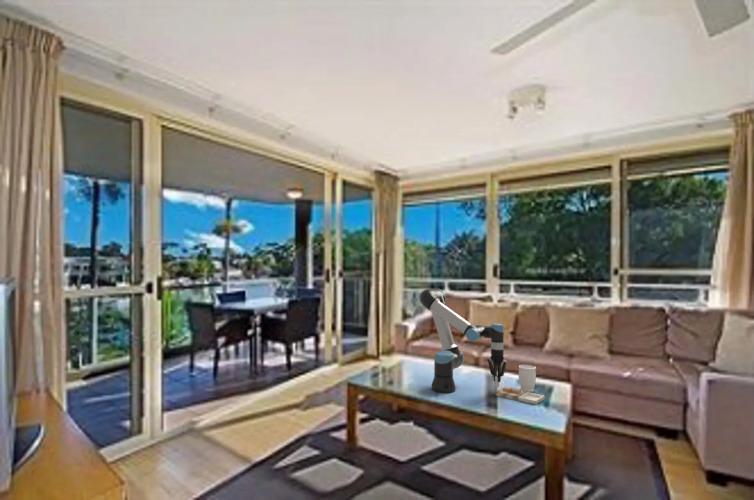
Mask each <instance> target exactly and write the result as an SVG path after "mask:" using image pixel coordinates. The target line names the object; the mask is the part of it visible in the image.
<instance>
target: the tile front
mask: <svg viewBox="0 0 754 500" xmlns="http://www.w3.org/2000/svg"><path fill="white" fill-rule="evenodd" d="M512 388H513V389H511V393H515V394H519V393H521V391H522V390H521V389H520V388H515V387H512Z"/></svg>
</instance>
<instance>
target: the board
mask: <svg viewBox="0 0 754 500" xmlns="http://www.w3.org/2000/svg"><path fill="white" fill-rule="evenodd" d="M503 388H504V387H502V388H499V389H497V390H496V391H495V397H501V398H506V399H510V400H514V401H518V397H519V396H521V395H523V394H525V393H527V392H525V391H522V390H521V393H519V394H515V393H511V392H505V391H503Z"/></svg>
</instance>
